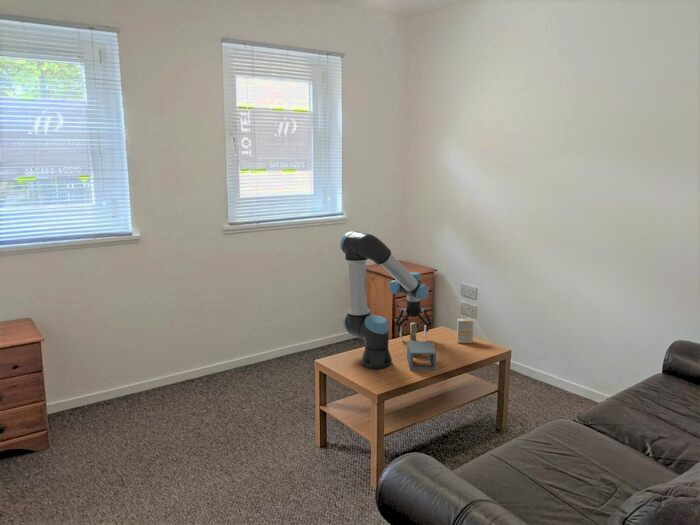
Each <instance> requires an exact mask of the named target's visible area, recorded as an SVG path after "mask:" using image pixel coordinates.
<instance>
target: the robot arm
mask: <svg viewBox="0 0 700 525" xmlns="http://www.w3.org/2000/svg"><path fill="white" fill-rule="evenodd" d="M339 245H340V250H341V251H342V253H343V254H344V255H345V258H344V259H345V261H346V262H347V263H348V283H349V286H348V287H349V304H350V305H349V309H347V311H346V314H345V317H344V318H343V327H344V330H345V331H346V332H347V333H348V334H349V335H351V336H353V337H356V338H359V339H361V340H363V341H364V350H363V353H362V356H361V358H360V359H361V365H362V367H365V369H370V370H383V369H388V368H389V367H392V364H393V359H392V356H391V352H390V350H389V340H390V339H389V332H390V329H389V328H390V326H389V321H388V320H387V318H385V317H384V316H381V315H374V314H371V309H370V308H368V296H367V293H368V292H367V261H368V260H370V261H372V262H373V263H375V264H376V265H378V266H381V267H382V268H383V269H384V270H385V271H386V272H387V273H388V274H389V275H390V276H391V277H392V278H393V279H394V280H391V281H390V282H389V286H388V287H389V291H390V292H391V294H393V295H399V294H402V295H405V296H406V308H403V307H402V308H400V312H399V314H398V316H397V318H396V320H395V322H394V325H395V326H397V332H398V333H399V338H400V339H402V338H403V337H402V335H403V327H402V325H403V324H404V322H406V320H407V319H409V317H410V318H417V317H418V318H419V319H420V320H421V321H422V323H423V324H424V329H423V331H424V334H423V336H424V338H426V339H427V332H429V326H432V324H433V323H432V322H431V319H430V318H429V315H428V313H427V309H426V308H425V307H424V308H421V300H424V299H426V298H427V296H428V295H429V291H430V289H429V287H428V285H426V284H423V283H422V278H421V277H422V275H421V273H420V272H418V271H416V272H415V271H408V269H407V268H406V267H405V266H403V264H402V263H401V262H400V261H399V260H398V259H397V258H396V257H395V256H394V255H393V254H392V250H391V249H390V247H388V246H387V245H386V244H385V243H384V242H383V241H382V240H380V239H379V237H377V236H375V235H373V234H371V233H364V232H360V231H353V230H352V231H347V232H346V233H345V234H344V235H343V236H342V238H341V240H340V244H339ZM405 312H406V314H405ZM421 313H423V314H424V316H425V318H426V319H424V317H423V316H422V315H421ZM404 314H405V315H404ZM403 315H404V316H403ZM426 320H427V321H428V322H427V321H426Z"/></svg>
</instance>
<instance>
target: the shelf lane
mask: <svg viewBox="0 0 700 525" xmlns="http://www.w3.org/2000/svg"><path fill="white" fill-rule="evenodd" d="M413 355H423V356H424V355H425V356H428V360H429V362H430V366H414V356H413ZM406 360H407V363H408V368H409V370H410V371H411V372H413V371H437V351H436V347H435V345H434V344H433V342H432V341H431V340H430V341H429V340H425V341H423V340H418V341H417V340H416V341H410V340H407V341H406Z"/></svg>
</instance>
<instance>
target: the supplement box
mask: <svg viewBox="0 0 700 525" xmlns="http://www.w3.org/2000/svg"><path fill="white" fill-rule="evenodd" d="M456 323H457V324H456V342H457V344H473V343H474V342H473V341H474V340H473V339H474V338H473V335H474V320H473V318H467V317H466V318H461V317H460V318H459V317H458V318H457V321H456Z"/></svg>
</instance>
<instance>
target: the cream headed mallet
mask: <svg viewBox="0 0 700 525" xmlns="http://www.w3.org/2000/svg"><path fill="white" fill-rule="evenodd" d="M409 327H410V328H409V329H410V330H409V331H410V332H409V334H410V336H409V338H410V339H409V341H417V327H418V326H417V322H410V324H409ZM413 357H424V355H413Z"/></svg>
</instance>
